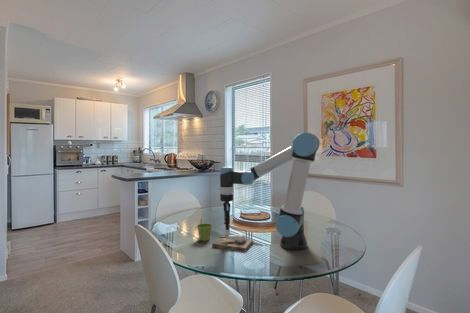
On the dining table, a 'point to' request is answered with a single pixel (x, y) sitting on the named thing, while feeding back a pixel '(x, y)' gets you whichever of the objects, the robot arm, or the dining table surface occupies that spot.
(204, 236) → the plant pot
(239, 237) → the peg
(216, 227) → the dining table surface
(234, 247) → the board
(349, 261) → the dining table surface
